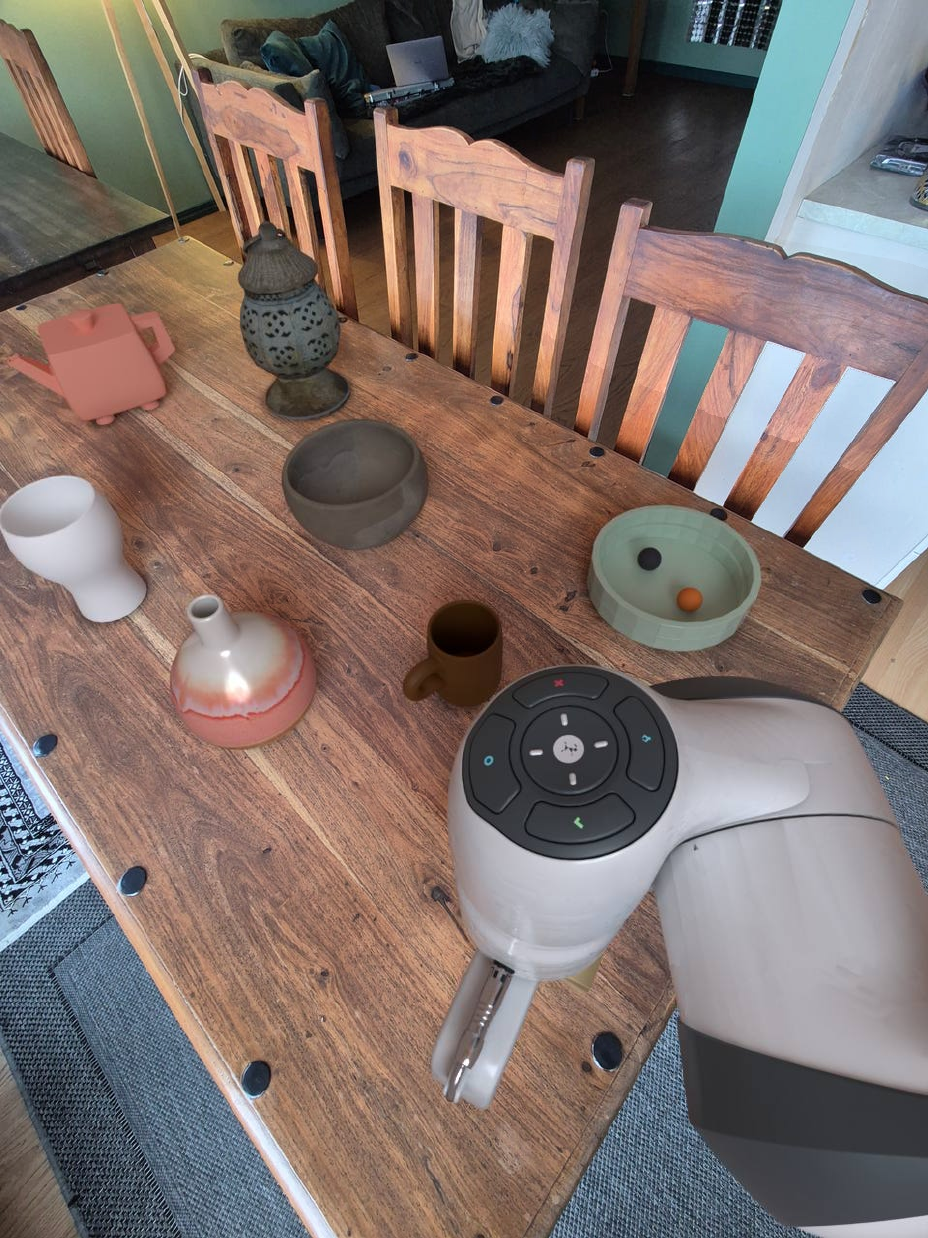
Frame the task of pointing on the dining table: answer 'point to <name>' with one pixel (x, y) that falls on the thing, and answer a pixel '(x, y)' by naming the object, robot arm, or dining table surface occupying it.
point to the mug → (459, 656)
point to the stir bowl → (672, 577)
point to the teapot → (101, 361)
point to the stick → (577, 982)
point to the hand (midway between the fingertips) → (528, 936)
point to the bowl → (355, 483)
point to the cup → (73, 544)
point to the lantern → (290, 327)
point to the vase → (240, 676)
